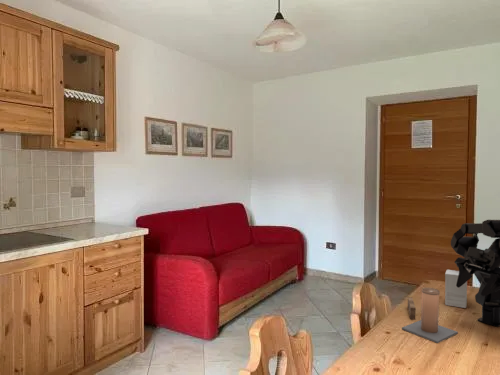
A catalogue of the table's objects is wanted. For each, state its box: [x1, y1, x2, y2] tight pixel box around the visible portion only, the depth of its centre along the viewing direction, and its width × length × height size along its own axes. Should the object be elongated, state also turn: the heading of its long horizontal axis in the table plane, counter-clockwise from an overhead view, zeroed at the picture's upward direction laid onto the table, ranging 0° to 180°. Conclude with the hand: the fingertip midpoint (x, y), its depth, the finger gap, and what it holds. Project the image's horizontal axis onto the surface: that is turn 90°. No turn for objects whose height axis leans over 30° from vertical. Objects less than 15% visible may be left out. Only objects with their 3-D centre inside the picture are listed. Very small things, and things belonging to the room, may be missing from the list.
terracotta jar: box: [420, 287, 441, 333], centre depth 119 cm, size 5×5×13 cm
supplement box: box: [444, 269, 468, 309], centre depth 144 cm, size 7×7×13 cm
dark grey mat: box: [401, 319, 458, 344], centre depth 119 cm, size 12×12×1 cm
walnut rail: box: [407, 296, 416, 320], centre depth 135 cm, size 12×2×4 cm, turn 161°
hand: (468, 290), depth 118 cm, fingers open, 9 cm apart
